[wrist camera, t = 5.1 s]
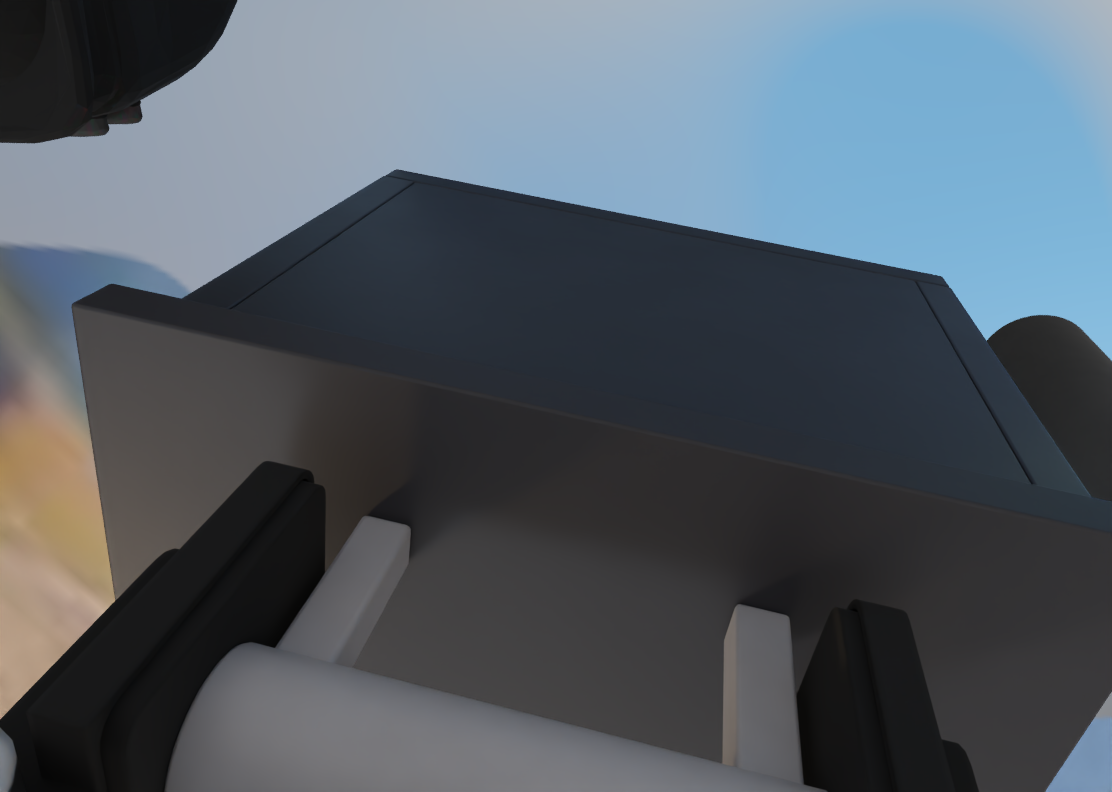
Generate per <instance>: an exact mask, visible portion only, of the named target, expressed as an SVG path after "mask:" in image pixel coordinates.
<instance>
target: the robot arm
mask: <svg viewBox="0 0 1112 792" xmlns="http://www.w3.org/2000/svg"><path fill="white" fill-rule="evenodd" d="M325 524H326V492H325V488H324V486H322V485H319V484H315V483H314V476H313V474H312V472H311V471H309V470H306V469H302V468H298V467H294V466H289V465H285V464H281V463H277V462H272V461H264V462H262V463H261V464H260V465H259V466H258V467H257V468H256V469H255V470H254V471H253V472H252V473H251V474H250V475H249V476H248V477H247V478H246V479H245V480H244V481H243V482H242V484H241V485H240V486H239V487H238V488H237V489H236V490H235V491H234V492H233V493H232V494H231V495H230V496H229V497H228V498H227V499H226V500H225V502H224V503H223V504H222V505H221V506H220V507H219V508H218V509H217V510H216V511H215V512H214V513H213V514H212V515H211V516H210V517H209V518H208V520H207V521H206V522H205V523H204V524H203V525H202V526H201V527H200V528H199V529H198V530H197V531H196V532H195V533H194V534H193V535H192V536H191V537H190V539H189V540H188V541H187V542H186V543H185V544H184V545H183V546H182V547H181V548H180V549H176V548H174V549H171V550H168V551H165V552H164V553H163V554H162V555H161V556H159V557H158V558H157V559H156V560H155V561H154V562H153V563H152V564H151V565H150V566H149V567H148V568H147V569H146V570H145V571H144V572H143V573H142V574H141V575H140V576H139V577H138V578H137V579H136V580H135V581H134V582H133V583H132V584H131V585H130V586H129V587H128V588H127V589H126V590H125V591H124V593H123V594H122V595H121V596H120V597H119V598H118V599H117V600H116V601H115V602H114V603H113V604H112V605H111V606H110V607H109V608H108V609H107V610H106V611H105V612H104V613H103V614H102V615H101V616H100V617H99V618H98V619H97V620H96V621H95V622H94V623H93V625H92V626H91V627H90V628H89V629H88V630H87V631H86V632H85V633H84V634H83V635H82V636H81V637H80V638H79V639H78V640H77V641H76V642H75V643H74V644H73V645H72V646H71V647H70V648H69V649H68V650H67V651H66V652H65V653H64V654H63V655H62V656H61V658H60V659H59V660H58V661H57V662H56V663H55V664H54V665H53V666H52V667H51V668H50V669H49V670H48V671H47V672H46V673H45V674H44V675H43V676H42V677H41V678H40V679H39V680H38V681H37V682H36V683H35V684H34V685H33V686H32V687H31V688H30V689H29V691H28V692H27V693H26V694H25V695H24V696H23V697H22V698H21V699H20V700H19V701H18V702H17V703H16V704H15V705H14V706H13V707H12V708H11V709H10V710H9V711H8V712H7V713H6V714H5V715H4V716H3V717H2V718H1V719H0V792H164V789H165V781H166V776H167V771H168V767H169V763H170V759H171V755H172V752H173V749H174V746H175V743H176V740H177V737H178V734H179V732H180V729H181V727H182V724H183V722H184V720H185V717H186V715H187V713H188V711H189V709H190V707H191V704H192V702H193V701H194V699H195V697H196V695H197V693H198V691H199V690H200V688H201V686H202V685H203V683H204V681H205V680H206V678H207V677H208V675H209V674H210V673H211V671H212V670H213V668H214V667H215V666H216V665H217V663H218V662H219V661H220V660H221V659H222V658H223V657H224V656H225V655H226V654H227V653H228V652H229V651H230V650H231V649H233V648H234V647H236V646H238V645H240V644H243V643H249V642H253V643H257V644H261V645H265V646H269V647H273V648H275V647H276V646H277V644H278V643H279V641H280V640H281V638H282V637H283V635H284V634H285V632H286V631H287V629H288V628H289V626H290V625H291V623H292V622H293V620H294V619H295V617H296V616H297V614H298V613H299V611H300V610H301V608H302V607H303V605H304V604H305V602H306V601H307V599H308V598H309V596H310V595H311V593H312V592H313V590H314V589H315V587H316V586H317V584H318V583H319V581H320V580H321V578H322V577H323V575H324V574H325ZM796 698H797V709H798V721H799V732H800V744H801V755H802V767H803V778H804V785H807V786H811V787H815V788H818V789H822V790H826V791H827V792H979V789H978V786H977V782H976V779H975V776H974V772H973V769H972V766H971V763H970V761H969V758H968V756H967V753H966V751H965V750H964V749H963V748H962V747H961V746H960V744H959V743H955V742H951V741H947V740H943V739H941V736H940V732H939V728H938V724H937V721H936V717H935V713H934V710H933V706H932V702H931V698H930V695H929V691H928V687H927V683H926V680H925V676H924V672H923V669H922V665H921V661H920V657H919V654H918V650H917V646H916V642H915V639H914V635H913V631H912V628H911V624H910V620H909V618H908V615H907V613H906V612H905V611H904V610H901V609H897V608H892V607H888V606H884V605H880V604H876V603H871V602H867V601H863V600H859V599H855V600H853V601H852V602H851V603H850V604H849V606H848V608H847V609H843V608H838V607H834V608H833V609H832V610H831V612H830V614H829V616H828V619H827V621H826V624H825V626H824V628H823V631H822V633H821V636H820V638H819V641H818V643H817V646H816V648H815V651H814V653H813V656H812V658H811V660H810V663H809V665H808V668H807V670H806V673H805V675H804V678H803V680H802V683H801V685H800V687H799V690H798V692H797V695H796Z"/></svg>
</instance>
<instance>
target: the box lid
mask: <svg viewBox="0 0 1112 792" xmlns="http://www.w3.org/2000/svg"><path fill="white" fill-rule="evenodd" d="M72 313H73V319H74V326H75V333H76V340H77V346H78V353H79V360H80V366H81V373H82V380H83V386H84V393H85V400H86V407H87V413H88V420H89V427H90V433H91V440H92V447H93V453H94V460H95V467H96V473H97V480H98V487H99V494H100V500H101V507H102V514H103V520H104V527H105V534H106V540H107V547H108V554H109V561H110V567H111V574H112V581H113V587H114V594H115V601H116V600H117V599H118V598H119V597H120V596H121V595H122V594H123V593H124V591H125V590H126V589H127V588H128V587H129V586H130V585H131V584H132V583H133V582H134V581H135V580H136V579H137V578H138V577H139V576H140V575H141V574H142V573H143V572H144V571H145V570H146V569H147V568H148V567H149V566H150V565H151V564H152V563H153V562H154V561H155V560H156V559H157V558H158V557H159V556H161V555H162V554H163V553H164V552H165V551H168V550H171V549H174V548H176V549H180V548H181V547H182V546H183V545H184V544H185V543H186V542H187V541H188V540H189V539H190V537H191V536H192V535H193V534H194V533H195V532H196V531H197V530H198V529H199V528H200V527H201V526H202V525H203V524H204V523H205V522H206V521H207V520H208V518H209V517H210V516H211V515H212V514H213V513H214V512H215V511H216V510H217V509H218V508H219V507H220V506H221V505H222V504H223V503H224V502H225V500H226V499H227V498H228V497H229V496H230V495H231V494H232V493H233V492H234V491H235V490H236V489H237V488H238V487H239V486H240V485H241V484H242V482H243V481H244V480H245V479H246V478H247V477H248V476H249V475H250V474H251V473H252V472H253V471H254V470H255V469H256V468H257V467H258V466H259V465H260V464H261V463H262V462H264V461H272V462H277V463H281V464H285V465H289V466H294V467H298V468H302V469H306V470H309V471H311V472H312V474H313V476H314V483H315V484H319V485H322V486H324V488H325V492H326V524H325V574H324V575H323V577H322V578H321V580H320V581H319V583H318V584H317V586H316V587H315V589H314V590H313V592H312V593H311V595H310V596H309V598H308V599H307V601H306V602H305V604H304V605H303V607H302V608H301V610H300V611H299V613H298V614H297V616H296V617H295V619H294V620H293V622H292V623H291V625H290V626H289V628H288V629H287V631H286V632H285V634H284V635H283V637H282V638H281V640H280V641H279V643H278V644H277V646H276V647H275V648H273V647H269V646H265V645H261V644H257V643H253V642H249V643H243V644H240V645H238V646H236V647H234V648H233V649H231V650H230V651H229V652H228V653H227V654H226V655H225V656H224V657H223V658H222V659H221V660H220V661H219V662H218V663H217V665H216V666H215V667H214V668H213V670H212V671H211V673H210V674H209V675H208V677H207V678H206V680H205V681H204V683H203V685H202V686H201V688H200V690H199V691H198V693H197V695H196V697H195V699H194V701H193V702H192V704H191V707H190V709H189V711H188V713H187V715H186V717H185V720H184V722H183V724H182V727H181V729H180V732H179V734H178V737H177V740H176V743H175V746H174V749H173V752H172V755H171V759H170V763H169V767H168V771H167V776H166V781H165V789H164V792H827V791H826V790H822V789H818V788H815V787H811V786H807V785H804V778H803V767H802V755H801V744H800V732H799V721H798V709H797V698H796V695H797V692H798V690H799V687H800V685H801V683H802V680H803V678H804V675H805V673H806V670H807V668H808V665H809V663H810V660H811V658H812V656H813V653H814V651H815V648H816V646H817V643H818V641H819V638H820V636H821V633H822V631H823V628H824V626H825V624H826V621H827V619H828V616H829V614H830V612H831V610H832V609H833V608H834V607H838V608H843V609H847V608H848V606H849V604H850V603H851V602H852V601H853V600H855V599H859V600H863V601H867V602H871V603H876V604H880V605H884V606H888V607H892V608H897V609H901V610H904V611H905V612H906V613H907V615H908V618H909V620H910V624H911V628H912V631H913V635H914V639H915V642H916V646H917V650H918V654H919V657H920V661H921V665H922V669H923V672H924V676H925V680H926V683H927V687H928V691H929V695H930V698H931V702H932V706H933V710H934V713H935V717H936V721H937V724H938V728H939V732H940V736H941V739H943V740H947V741H951V742H955V743H959V744H960V746H961V747H962V748H963V749H964V750H965V751H966V753H967V756H968V758H969V761H970V763H971V766H972V769H973V772H974V776H975V779H976V782H977V786H978V789H979V792H1045V791H1046V789H1047V788H1048V786H1049V785H1050V783H1051V782H1052V780H1053V779H1054V777H1055V776H1056V774H1057V773H1058V771H1059V770H1060V768H1061V767H1062V765H1063V764H1064V762H1065V761H1066V759H1067V758H1068V756H1069V755H1070V753H1071V752H1072V750H1073V749H1074V747H1075V746H1076V744H1077V743H1078V741H1079V740H1080V738H1081V737H1082V735H1083V734H1084V732H1085V731H1086V729H1087V728H1088V726H1089V725H1090V723H1091V722H1092V720H1093V719H1094V717H1095V716H1096V714H1097V713H1098V711H1099V710H1100V708H1101V707H1102V705H1103V704H1104V702H1105V701H1106V699H1107V698H1108V696H1109V694H1110V693H1111V692H1112V501H1107V500H1102V499H1098V498H1093V497H1089V496H1084V495H1079V494H1075V493H1070V492H1066V491H1061V490H1057V489H1052V488H1047V487H1043V486H1038V485H1034V484H1029V483H1024V482H1020V481H1015V480H1011V479H1006V478H1001V477H997V476H992V475H988V474H983V473H979V472H974V471H969V470H965V469H960V468H956V467H951V466H946V465H942V464H937V463H933V462H928V461H923V460H919V459H914V458H910V457H905V456H900V455H896V454H891V453H887V452H882V451H878V450H873V449H868V448H864V447H859V446H855V445H850V444H845V443H841V442H836V441H832V440H827V439H822V438H818V437H813V436H809V435H804V434H800V433H795V432H790V431H786V430H781V429H777V428H772V427H767V426H763V425H758V424H754V423H749V422H744V421H740V420H735V419H731V418H726V417H722V416H717V415H712V414H708V413H703V412H699V411H694V410H689V409H685V408H680V407H676V406H671V405H666V404H662V403H657V402H653V401H648V400H644V399H639V398H634V397H630V396H625V395H621V394H616V393H611V392H607V391H602V390H598V389H593V388H588V387H584V386H579V385H575V384H570V383H565V382H561V381H556V380H552V379H547V378H543V377H538V376H533V375H529V374H524V373H520V372H515V371H510V370H506V369H501V368H497V367H492V366H487V365H483V364H478V363H474V362H469V361H465V360H460V359H455V358H451V357H446V356H442V355H437V354H432V353H428V352H423V351H419V350H414V349H409V348H405V347H400V346H396V345H391V344H387V343H382V342H377V341H373V340H368V339H364V338H359V337H354V336H350V335H345V334H341V333H336V332H331V331H327V330H322V329H318V328H313V327H309V326H304V325H299V324H295V323H290V322H286V321H281V320H276V319H272V318H267V317H263V316H258V315H253V314H249V313H244V312H240V311H235V310H230V309H226V308H221V307H217V306H212V305H208V304H203V303H198V302H194V301H189V300H185V299H180V298H175V297H171V296H166V295H162V294H157V293H152V292H148V291H143V290H139V289H134V288H130V287H125V286H120V285H116V284H109V285H107V286H105V287H103V288H101V289H100V290H98V291H96V292H94V293H92V294H90V295H88V296H86V297H84V298H82V299H80V300H78V301H76V302H74V303H73V304H72Z"/></svg>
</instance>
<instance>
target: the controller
mask: <svg viewBox="0 0 1112 792" xmlns="http://www.w3.org/2000/svg"><path fill="white" fill-rule="evenodd" d="M236 3H237V0H0V142H1V143H40V142H45V141H50V140H54V139H59V138H64V137H68V136H75V137H76V136H78V137H85V136H101V135H105V134H106V133H107V132H108V131H109V126H108V124H133V123H138V122H140V121H141V119H142V112H141V107H140V103H141V101H140V100H141V99H143V98H145V97H147V96H148V95H150V94H152V93H154V92H156V91H158V90H159V89H161V88H163V87H165V86H167V85H169V84H170V83H172V82H174V81H176V80H177V79H179V78H180V77H182V76H183V75H184V74H186V73H187V72H188V71H190V70H191V69H193V68H194V67H195V66H196V65H197V64H198V63H199V62H200V61H201V60H202V59H203V58H204V57H205V56H206V55H207V54H208V53H209V52H210V51H211V50H212V49H213V47H214V46H215V44H216V43H217V41H218V40H219V38H220V37H221V36H222V34H223V32H224V30H225V27H226V25H227V23H228V21H229V18H230V16H231V14H232V12H233V9H234V7H235V5H236Z"/></svg>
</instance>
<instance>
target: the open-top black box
mask: <svg viewBox="0 0 1112 792" xmlns="http://www.w3.org/2000/svg"><path fill="white" fill-rule="evenodd" d="M182 299H185V300H189V301H194V302H198V303H203V304H208V305H212V306H217V307H221V308H226V309H230V310H235V311H240V312H244V313H249V314H253V315H258V316H263V317H267V318H272V319H276V320H281V321H286V322H290V323H295V324H299V325H304V326H309V327H313V328H318V329H322V330H327V331H331V332H336V333H341V334H345V335H350V336H354V337H359V338H364V339H368V340H373V341H377V342H382V343H387V344H391V345H396V346H400V347H405V348H409V349H414V350H419V351H423V352H428V353H432V354H437V355H442V356H446V357H451V358H455V359H460V360H465V361H469V362H474V363H478V364H483V365H487V366H492V367H497V368H501V369H506V370H510V371H515V372H520V373H524V374H529V375H533V376H538V377H543V378H547V379H552V380H556V381H561V382H565V383H570V384H575V385H579V386H584V387H588V388H593V389H598V390H602V391H607V392H611V393H616V394H621V395H625V396H630V397H634V398H639V399H644V400H648V401H653V402H657V403H662V404H666V405H671V406H676V407H680V408H685V409H689V410H694V411H699V412H703V413H708V414H712V415H717V416H722V417H726V418H731V419H735V420H740V421H744V422H749V423H754V424H758V425H763V426H767V427H772V428H777V429H781V430H786V431H790V432H795V433H800V434H804V435H809V436H813V437H818V438H822V439H827V440H832V441H836V442H841V443H845V444H850V445H855V446H859V447H864V448H868V449H873V450H878V451H882V452H887V453H891V454H896V455H900V456H905V457H910V458H914V459H919V460H923V461H928V462H933V463H937V464H942V465H946V466H951V467H956V468H960V469H965V470H969V471H974V472H979V473H983V474H988V475H992V476H997V477H1001V478H1006V479H1011V480H1015V481H1020V482H1024V483H1029V484H1034V485H1038V486H1043V487H1047V488H1052V489H1057V490H1061V491H1066V492H1070V493H1075V494H1079V495H1084V496H1089V497H1091V496H1090V494H1089V493H1088V491H1087V490H1086V488H1085V487H1084V485H1083V484H1082V482H1081V481H1080V479H1079V478H1078V476H1077V475H1076V473H1075V472H1074V470H1073V469H1072V467H1071V466H1070V464H1069V463H1068V462H1067V460H1066V459H1065V457H1064V456H1063V454H1062V453H1061V451H1060V450H1059V448H1058V447H1057V445H1056V444H1055V442H1054V441H1053V439H1052V438H1051V436H1050V435H1049V433H1048V432H1047V430H1046V429H1045V427H1044V426H1043V424H1042V423H1041V421H1040V420H1039V418H1038V417H1037V415H1036V414H1035V413H1034V411H1033V410H1032V408H1031V407H1030V405H1029V404H1028V402H1027V401H1026V399H1025V398H1024V396H1023V395H1022V393H1021V392H1020V390H1019V389H1018V387H1017V386H1016V384H1015V383H1014V381H1013V380H1012V378H1011V377H1010V375H1009V374H1008V372H1007V371H1006V369H1005V368H1004V366H1003V365H1002V364H1001V362H1000V361H999V359H998V358H997V356H996V355H995V353H994V352H993V350H992V349H991V347H990V346H989V344H988V343H987V341H986V340H985V338H984V337H983V335H982V334H981V332H980V331H979V329H978V328H977V326H976V325H975V324H974V322H973V320H972V319H971V317H970V316H969V315H968V313H967V312H966V310H965V309H964V307H963V306H962V304H961V303H960V301H959V300H958V298H957V297H956V295H955V294H954V293H953V291H952V289H951V288H949V286H948V284H947V283H946V282H945V280H944V279H943V278H942V277H941V276H937V275H932V274H927V273H921V272H916V271H911V270H906V269H901V268H896V267H891V266H885V265H881V264H876V263H871V262H865V261H860V260H855V259H850V258H845V257H840V256H835V255H830V254H824V253H820V252H815V251H809V250H804V249H799V248H794V247H789V246H784V245H779V244H774V243H768V242H764V241H759V240H754V239H748V238H743V237H738V236H733V235H728V234H723V233H718V232H713V231H708V230H702V229H698V228H693V227H687V226H682V225H677V224H672V223H667V222H662V221H657V220H652V219H647V218H641V217H637V216H632V215H626V214H621V213H616V212H611V211H606V210H601V209H596V208H591V207H585V206H581V205H575V204H570V203H565V202H560V201H555V200H550V199H545V198H540V197H534V196H530V195H525V194H519V193H514V192H509V191H504V190H499V189H494V188H489V187H483V186H479V185H473V184H469V183H463V182H459V181H453V180H448V179H443V178H438V177H433V176H428V175H422V174H418V173H412V172H407V171H403V170H394V171H393V172H391V173H389V174H388V175H386V176H383V177H382V178H380V179H378V180H377V181H375V182H373V183H372V184H370V185H368V186H367V187H365V188H364V189H362V190H360V191H359V192H357V193H355V194H354V195H352V196H350V197H349V198H347V199H345V200H344V201H342V202H340V203H339V204H337V205H335V206H334V207H332V208H330V209H329V210H327V211H326V212H324V213H323V214H321V215H319V216H317V217H316V218H314V219H312V220H311V221H309V222H307V223H306V224H304V225H302V226H301V227H299V228H297V229H296V230H294V231H293V232H291V233H289V234H288V235H286V236H285V237H283V238H281V239H279V240H278V241H276V242H274V243H273V244H271V245H269V246H268V247H266V248H264V249H263V250H261V251H259V252H258V253H256V254H255V255H253V256H251V257H250V258H248V259H246V260H245V261H243V262H241V263H240V264H238V265H237V266H235V267H233V268H231V269H230V270H228V271H227V272H225V273H223V274H222V275H220V276H219V277H217V278H215V279H213V280H212V281H210V282H208V283H207V284H206V285H203V286H202V287H200V288H198V289H197V290H195V291H194V292H192V293H190V294H189V295H187V296H185V297H184V298H182Z"/></svg>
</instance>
